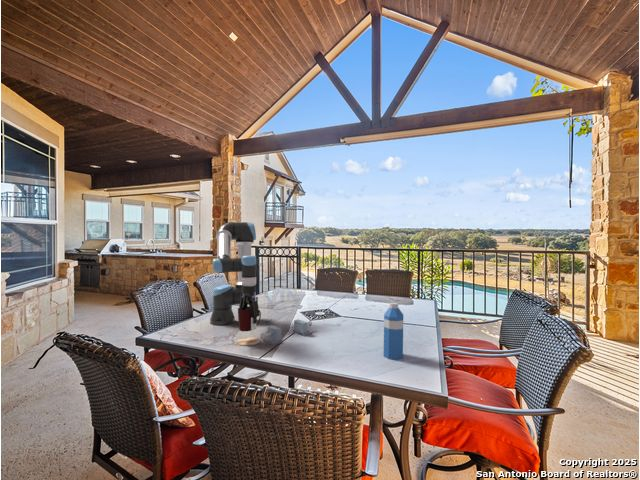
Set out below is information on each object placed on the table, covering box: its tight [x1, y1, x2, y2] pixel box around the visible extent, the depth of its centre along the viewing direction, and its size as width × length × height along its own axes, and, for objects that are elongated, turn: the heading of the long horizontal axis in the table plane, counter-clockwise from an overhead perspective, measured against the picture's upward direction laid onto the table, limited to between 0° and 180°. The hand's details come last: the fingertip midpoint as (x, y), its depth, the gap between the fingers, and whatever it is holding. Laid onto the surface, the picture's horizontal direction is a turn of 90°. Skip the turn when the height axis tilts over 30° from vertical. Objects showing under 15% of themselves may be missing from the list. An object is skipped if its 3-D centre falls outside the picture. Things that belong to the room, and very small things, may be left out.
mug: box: [237, 306, 262, 332], centre depth 157 cm, size 12×9×11 cm
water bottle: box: [383, 302, 404, 361], centre depth 141 cm, size 9×9×25 cm
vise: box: [259, 318, 313, 346], centre depth 166 cm, size 10×34×7 cm, turn 134°
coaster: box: [236, 336, 261, 347], centre depth 158 cm, size 12×12×1 cm
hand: (248, 327), depth 158 cm, fingers closed on mug, 9 cm apart
